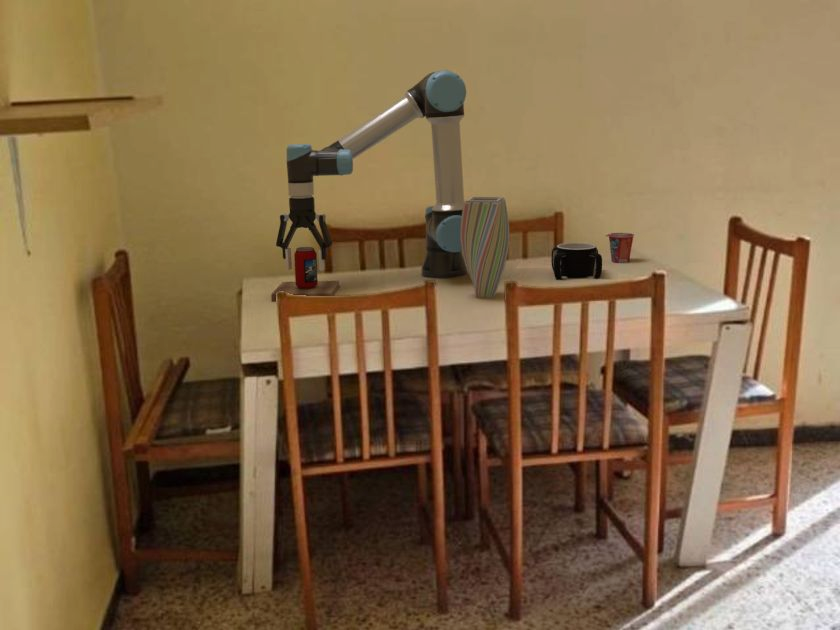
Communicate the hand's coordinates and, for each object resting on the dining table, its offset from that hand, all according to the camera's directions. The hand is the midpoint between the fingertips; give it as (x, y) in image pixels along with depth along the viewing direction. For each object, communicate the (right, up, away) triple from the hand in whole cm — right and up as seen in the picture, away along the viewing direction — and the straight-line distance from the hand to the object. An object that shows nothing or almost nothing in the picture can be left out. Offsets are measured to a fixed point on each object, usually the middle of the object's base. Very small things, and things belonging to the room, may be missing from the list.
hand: (305, 269), depth 272 cm
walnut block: (0, -8, +2) cm, 8 cm away
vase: (+54, -10, -14) cm, 57 cm away
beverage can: (0, -5, +1) cm, 6 cm away
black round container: (+84, -4, +8) cm, 84 cm away
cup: (+102, +1, +27) cm, 105 cm away
